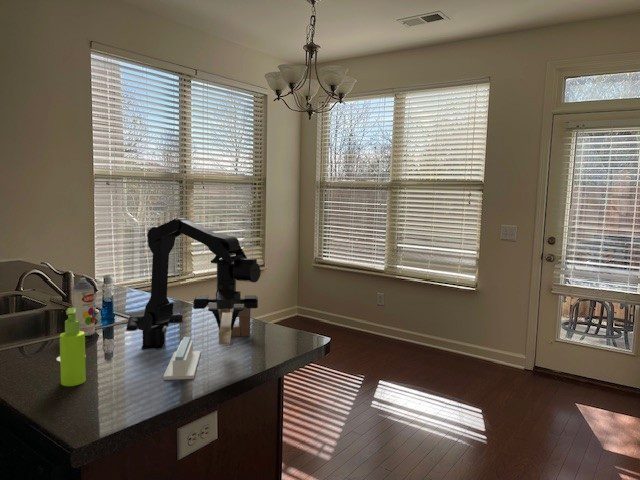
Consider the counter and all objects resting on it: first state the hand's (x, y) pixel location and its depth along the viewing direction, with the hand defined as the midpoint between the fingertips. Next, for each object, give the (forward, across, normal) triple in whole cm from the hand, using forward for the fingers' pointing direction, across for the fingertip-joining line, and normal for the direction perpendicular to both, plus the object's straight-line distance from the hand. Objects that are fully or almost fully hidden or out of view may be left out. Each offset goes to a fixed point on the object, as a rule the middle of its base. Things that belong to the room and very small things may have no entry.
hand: (226, 329), depth 144 cm
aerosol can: (+10, -50, +30) cm, 59 cm away
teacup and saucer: (+10, -45, +9) cm, 47 cm away
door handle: (+10, -28, +40) cm, 50 cm away
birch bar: (+1, 0, 0) cm, 1 cm away
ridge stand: (+10, -12, -3) cm, 16 cm away
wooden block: (+10, +2, +26) cm, 28 cm away
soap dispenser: (+10, -39, -13) cm, 42 cm away
